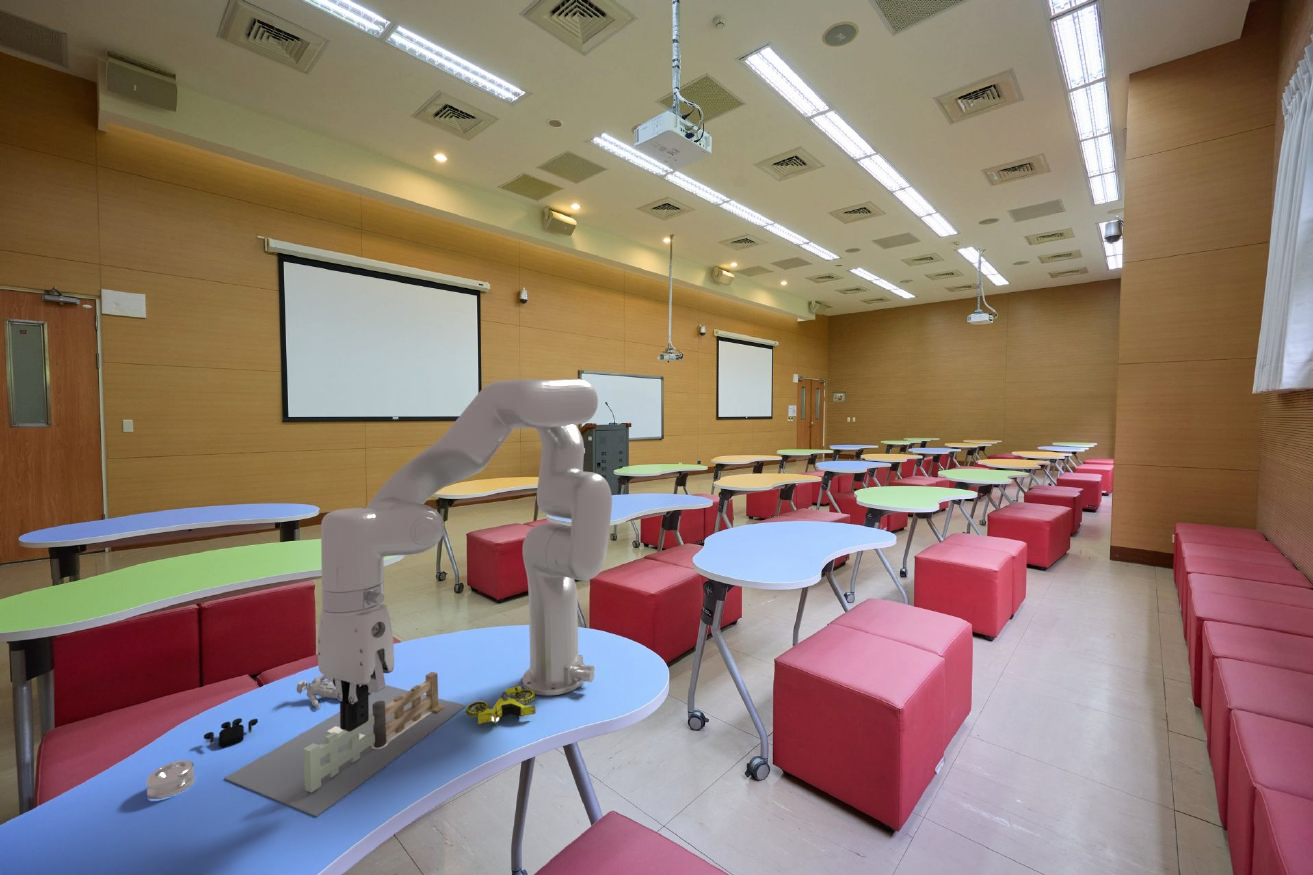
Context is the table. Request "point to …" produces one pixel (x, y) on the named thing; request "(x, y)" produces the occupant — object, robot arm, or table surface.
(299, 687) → the soldier figure
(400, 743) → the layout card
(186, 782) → the grooved metal pulley
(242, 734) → the wireless earbuds
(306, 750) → the fence swing section
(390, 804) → the table surface
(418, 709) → the fence fixed section
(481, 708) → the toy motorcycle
